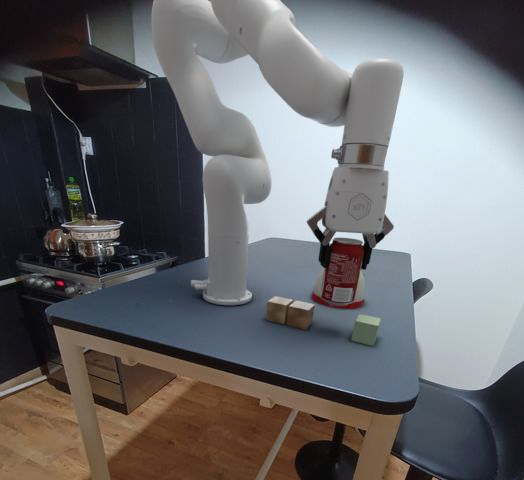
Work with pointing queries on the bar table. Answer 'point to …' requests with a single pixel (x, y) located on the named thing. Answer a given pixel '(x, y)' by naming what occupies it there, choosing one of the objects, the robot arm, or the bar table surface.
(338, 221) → the robot arm
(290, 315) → the beech block
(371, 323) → the sage block
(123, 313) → the bar table surface
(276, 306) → the maple block
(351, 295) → the soda can
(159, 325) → the bar table surface
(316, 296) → the kitchen timer
